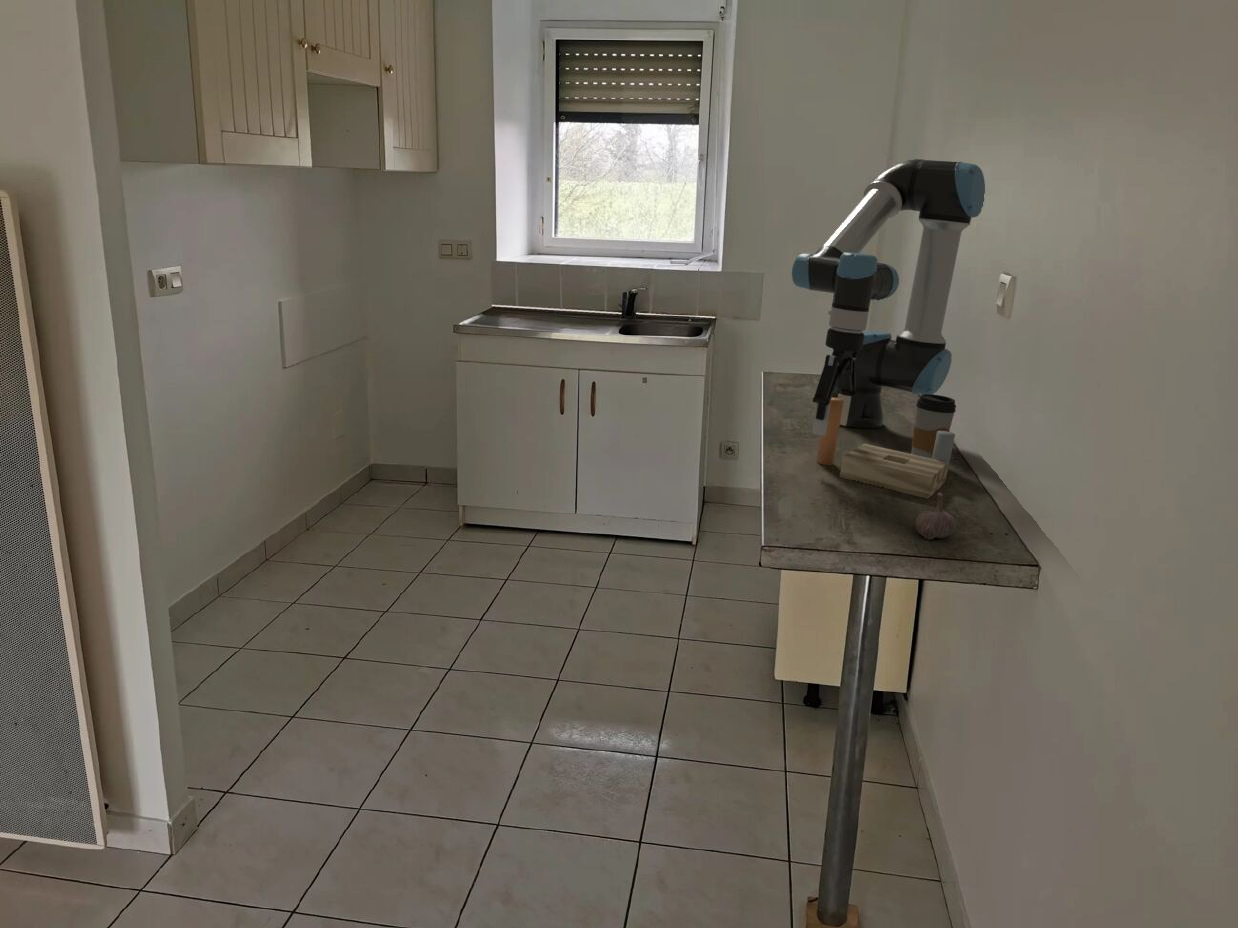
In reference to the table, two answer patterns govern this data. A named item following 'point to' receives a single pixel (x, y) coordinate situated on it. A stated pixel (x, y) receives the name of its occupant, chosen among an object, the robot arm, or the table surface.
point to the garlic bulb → (935, 522)
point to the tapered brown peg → (830, 433)
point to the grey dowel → (943, 446)
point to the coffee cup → (931, 422)
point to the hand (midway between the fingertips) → (829, 429)
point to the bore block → (894, 470)
